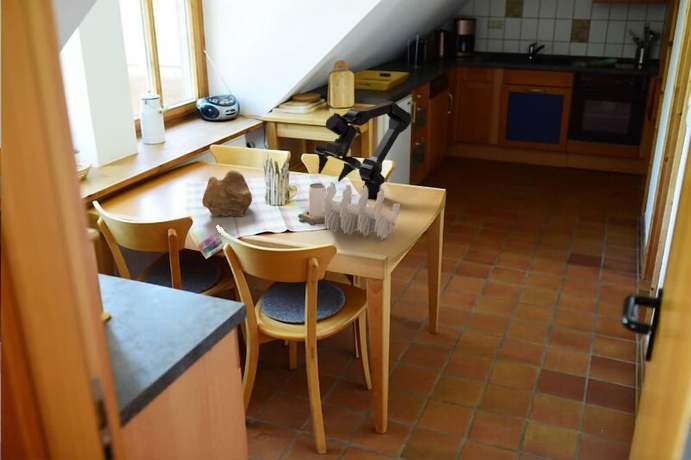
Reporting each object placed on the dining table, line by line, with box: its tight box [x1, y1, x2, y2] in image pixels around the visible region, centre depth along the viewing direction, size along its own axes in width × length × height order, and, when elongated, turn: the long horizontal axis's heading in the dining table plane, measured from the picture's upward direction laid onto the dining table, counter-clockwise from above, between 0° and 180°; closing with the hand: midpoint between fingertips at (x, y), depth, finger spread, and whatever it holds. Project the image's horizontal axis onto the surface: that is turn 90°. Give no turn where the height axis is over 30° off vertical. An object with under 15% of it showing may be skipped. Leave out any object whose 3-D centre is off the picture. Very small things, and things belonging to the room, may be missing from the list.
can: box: [308, 182, 327, 217], centre depth 240 cm, size 6×6×12 cm
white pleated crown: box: [323, 181, 401, 241], centre depth 225 cm, size 18×18×25 cm
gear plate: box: [298, 209, 326, 226], centre depth 242 cm, size 14×14×2 cm
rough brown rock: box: [202, 170, 253, 218], centre depth 246 cm, size 23×17×15 cm
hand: (328, 177), depth 248 cm, fingers open, 9 cm apart
